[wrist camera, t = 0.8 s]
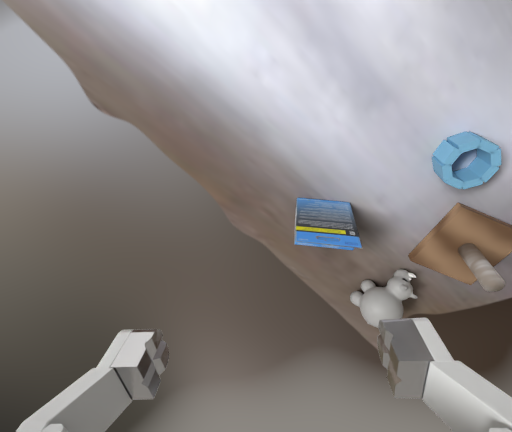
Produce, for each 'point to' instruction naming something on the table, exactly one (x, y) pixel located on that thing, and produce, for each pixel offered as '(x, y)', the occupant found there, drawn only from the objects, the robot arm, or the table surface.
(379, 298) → the round bodied animal figurine
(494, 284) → the post block
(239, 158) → the table surface
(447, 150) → the ring
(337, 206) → the blue printed box
